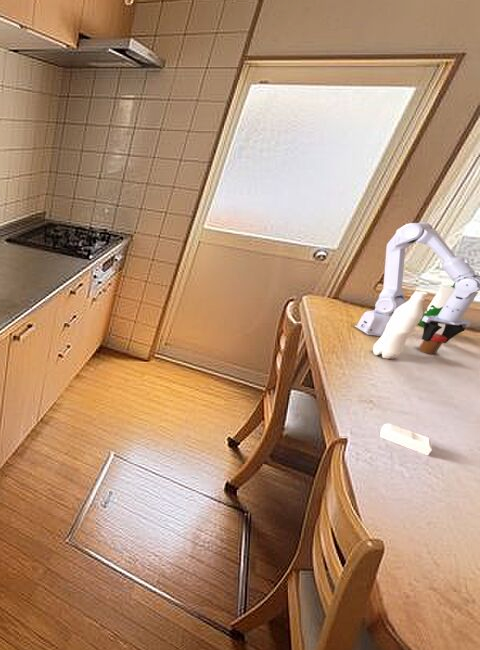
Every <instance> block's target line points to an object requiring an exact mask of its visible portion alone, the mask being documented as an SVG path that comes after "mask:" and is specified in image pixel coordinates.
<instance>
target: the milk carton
mask: <svg viewBox="0 0 480 650" xmlns="http://www.w3.org/2000/svg"><path fill="white" fill-rule="evenodd" d="M455 283H456V282H454V283H453V284H446V285H443V286H439V287H440V288H439V289H438V291H437V292H436V294H435V295H434V296H433V298H432V299H431V302H430V303H429V305H428V306H427V308H426V309H425V311H424V312H423V316H422V319H423V317H424V316H438V314H439V313H440V311H441V310H442V308H443V306H444V305H445V303H446V302H447V300H448V299H449V297H450V296H451V294H452V293H453V292H454V290H455ZM422 319H420V321H419V322H418V324H417V326H421V327H423V328H424V325H423V321H422Z"/></svg>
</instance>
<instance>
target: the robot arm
mask: <svg viewBox="0 0 480 650" xmlns="http://www.w3.org/2000/svg"><path fill="white" fill-rule="evenodd" d="M414 243H419V244H421V245H427V246H428V247H429V249H431V250H432V251H433V252H434V254H436V255H437V257H438V258H439V259H440V260H441V261H442V262H443V263H442V265H441V268H442V269H443V271H444V272H445V273H446V274H447V276H448V277H449V278H450V279H451V280H452V281H453V282H454V283H455V282H456V283H455V290H454V292H453V293H452V294H451V296H450V297H449V299H448V300H447V302H446V303H445V305H444V306H443V308H442V310H441V311H440V313H439V314H438V316H424V317H423V319H422V321H423V325H424V327H423V333H422V337H421V340H422V341H423V340H425V341H429V340H430V339H431V338H432V336H433V335H434V334H435V333H436V332H437V331H438V330H439V329H441V328H442V327H441V326H439V324H438V323H440V324H445V328H444V331H443V333H442V335H443V336H445V337H447V340H446V342H444V343H443V344H446V343H447V342H449V341H450V340H452V339H453V338H454V337H455V336H457V335H459V334H460V333H463V332H465V330H466V328H469V327H470V326H471V325H472V321H469V320H468V319H463V317H464V315H465V314H466V312H467V311H468V309H470V307H471V305H472V303H473V302H474V300H475V298H476V297H477V295H478V294H479V291H480V273H479V272H478V271H475V269H473V267H472V266H471V264H470V263H471V262H470V260H469V259H465V258H464V257H459V256H456V254H454V252H453V251H452V249H451V248H450V247H449V245H448V243H446V242H445V240H444V238H442V236H441V235H440V233H439V232H438V230H436V229H435V228H433V226H432V224H430V223H428V222H423V221H422V222H409V223H406V224H404V225H402V226H401V227H399V228H398V229H396V231H395V234H393V236H392V237H391V238H390V240H389V241H388V242H387V243H386V249H385V260H384V262H385V263H384V272H383V273H384V275H383V286H382V291H381V292H380V293H379V295H378V298H377V301H376V302H375V303H374V304H375V305H374V307H375V308H374V309H373V310H367V311H365V312H364V313H363V314H362V315H361V317H360V319H359V320H358V323H357V324H356V325H354V327H355V328H356V329H357V330H360V332H362V333H364V334H366V335H369V336H377V337H381V336H382V334H383V333H384V331H385V328H386V326H387V323H388V322H389V320H390V318H391V317H392V315H393V313H394V311H395V310H396V309H397V308H398V307H399V306H401V305H402V304H404V303H406V302H407V300H406V298H405V292H404V289H403V279H404V267H405V258H406V249H408V247H410V246H412V245H413V244H414Z"/></svg>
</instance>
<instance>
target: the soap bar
mask: <svg viewBox="0 0 480 650" xmlns="http://www.w3.org/2000/svg"><path fill="white" fill-rule="evenodd" d="M380 438H381V439H384V440H386V441H388V442H391V443H394V444H397V445H399V446H402V447H404V448H406V449H409V450H412V451H414V452H416V453H419V454H422V455H424V456H427V457H428V456H429V455H430V453H431V452H432V450H433V449H432V448H433V447H432V441H431V439H430V438H429V437H427V436H424V435H422V434H419V433H416V432H413V431H411V430H409V429H405V428H402V427H401V426H397V425H394V424H393V423H384V424H383V426H382V427H381V428H380Z"/></svg>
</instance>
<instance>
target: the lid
mask: <svg viewBox="0 0 480 650" xmlns="http://www.w3.org/2000/svg"><path fill="white" fill-rule="evenodd" d="M430 340H432V341H435V342H440V343H442V344H445V343H444V342H446V340H447V337H445V336H443V335H440V334H437V333H435V334H434V335H433V336H432V338H431V339H430ZM446 343H447V342H446Z"/></svg>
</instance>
